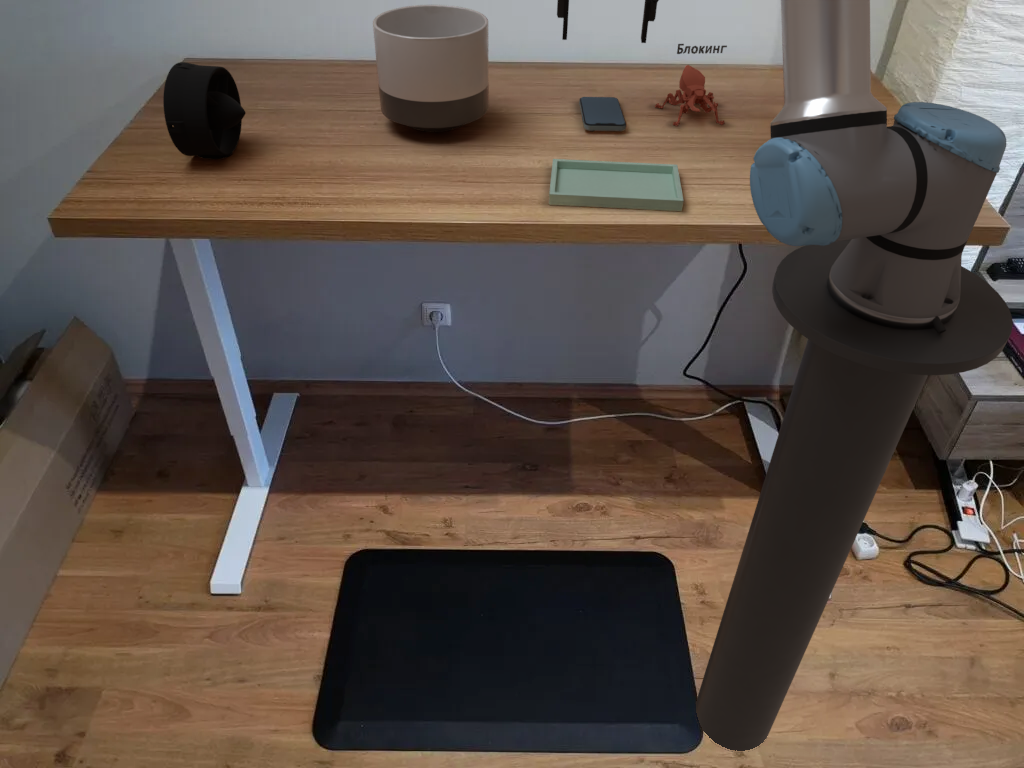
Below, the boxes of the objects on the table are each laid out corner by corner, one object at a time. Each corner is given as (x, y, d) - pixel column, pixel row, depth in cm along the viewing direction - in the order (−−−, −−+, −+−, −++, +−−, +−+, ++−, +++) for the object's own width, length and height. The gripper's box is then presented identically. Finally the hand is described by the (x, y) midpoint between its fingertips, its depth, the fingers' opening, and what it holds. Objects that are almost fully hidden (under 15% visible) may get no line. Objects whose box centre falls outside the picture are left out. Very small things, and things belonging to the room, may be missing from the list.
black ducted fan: (218, 83, 119) (153, 80, 120) (238, 174, 129) (178, 171, 129) (251, 52, 130) (192, 49, 131) (268, 138, 140) (212, 135, 140)
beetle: (651, 101, 155) (659, 33, 147) (713, 100, 156) (725, 32, 148) (669, 132, 144) (680, 60, 136) (736, 130, 145) (751, 59, 137)
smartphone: (618, 96, 154) (627, 124, 142) (617, 105, 155) (626, 133, 143) (578, 95, 154) (584, 124, 142) (578, 104, 155) (583, 133, 143)
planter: (361, 132, 142) (349, 27, 131) (416, 97, 156) (410, -2, 144) (457, 153, 136) (454, 44, 125) (506, 114, 149) (507, 13, 138)
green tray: (681, 211, 121) (683, 200, 120) (548, 204, 122) (549, 193, 121) (675, 174, 131) (677, 164, 129) (552, 168, 132) (552, 158, 131)
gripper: (693, -105, 128) (674, 35, 142) (537, -109, 129) (533, 29, 143) (698, -96, 122) (677, 48, 136) (534, -101, 123) (530, 43, 137)
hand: (603, 39), depth 139 cm, fingers open, 13 cm apart
